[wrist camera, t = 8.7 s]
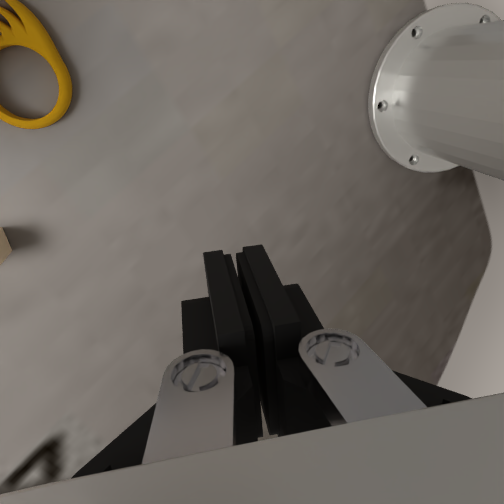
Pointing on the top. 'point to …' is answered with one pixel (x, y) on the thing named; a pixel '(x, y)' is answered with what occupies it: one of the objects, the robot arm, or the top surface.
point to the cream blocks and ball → (4, 246)
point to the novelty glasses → (37, 39)
